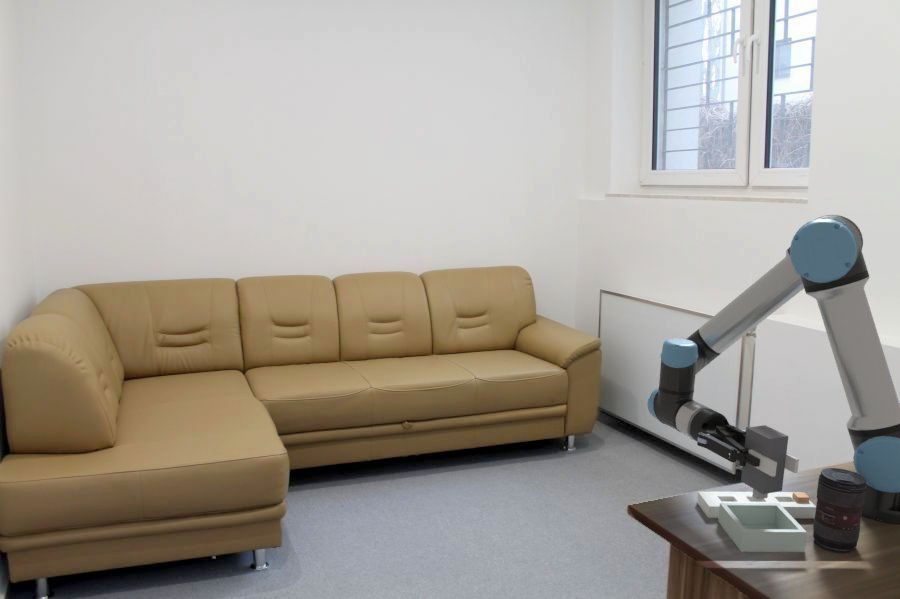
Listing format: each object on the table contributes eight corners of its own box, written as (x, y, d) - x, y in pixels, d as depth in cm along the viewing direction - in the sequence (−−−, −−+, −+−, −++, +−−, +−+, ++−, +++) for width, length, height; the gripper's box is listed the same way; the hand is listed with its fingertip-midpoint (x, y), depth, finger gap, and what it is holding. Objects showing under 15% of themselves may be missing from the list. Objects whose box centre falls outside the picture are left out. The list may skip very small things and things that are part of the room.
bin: (776, 526, 159) (779, 503, 158) (804, 556, 148) (806, 532, 147) (717, 526, 159) (719, 502, 158) (740, 556, 147) (743, 531, 146)
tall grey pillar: (757, 489, 155) (765, 425, 153) (780, 502, 150) (788, 436, 147) (739, 492, 154) (746, 427, 151) (761, 505, 148) (769, 438, 146)
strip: (799, 507, 168) (801, 487, 167) (814, 522, 161) (817, 502, 160) (696, 506, 167) (698, 487, 166) (707, 522, 160) (709, 501, 160)
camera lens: (863, 561, 146) (873, 486, 143) (816, 556, 148) (825, 481, 145) (850, 541, 154) (859, 468, 151) (806, 536, 155) (814, 464, 153)
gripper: (734, 436, 171) (819, 480, 149) (666, 446, 164) (745, 493, 143) (737, 403, 169) (824, 443, 148) (669, 411, 163) (750, 454, 141)
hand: (785, 467), depth 145 cm, fingers closed on tall grey pillar, 4 cm apart
